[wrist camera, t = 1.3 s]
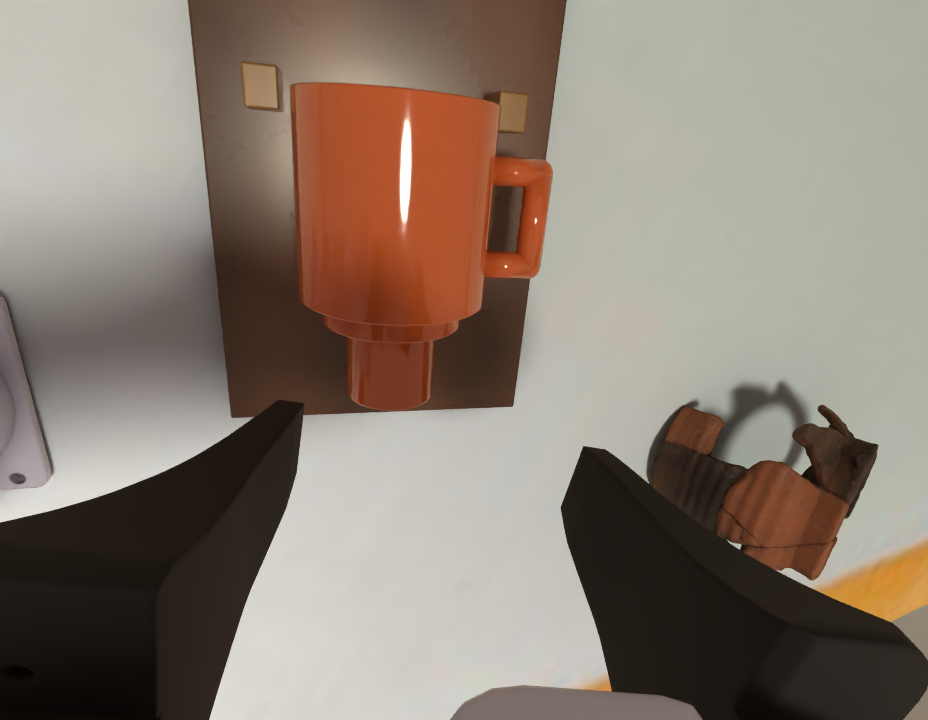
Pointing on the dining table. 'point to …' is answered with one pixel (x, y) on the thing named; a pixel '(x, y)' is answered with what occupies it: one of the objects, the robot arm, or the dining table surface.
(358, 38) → the stand
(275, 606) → the dining table surface
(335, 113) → the jug
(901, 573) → the dining table surface
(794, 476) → the brown arched frame
